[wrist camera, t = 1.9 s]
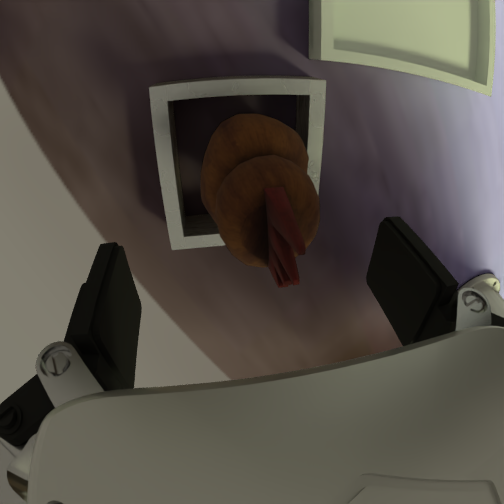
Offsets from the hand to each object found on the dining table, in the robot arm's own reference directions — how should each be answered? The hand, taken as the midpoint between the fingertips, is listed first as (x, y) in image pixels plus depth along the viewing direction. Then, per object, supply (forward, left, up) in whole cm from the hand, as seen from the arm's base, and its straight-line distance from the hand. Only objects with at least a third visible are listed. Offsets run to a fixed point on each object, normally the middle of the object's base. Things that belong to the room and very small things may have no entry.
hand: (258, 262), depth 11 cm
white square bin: (0, 0, -13) cm, 13 cm away
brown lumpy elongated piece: (-1, 0, -13) cm, 13 cm away
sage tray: (-13, -15, -13) cm, 24 cm away
